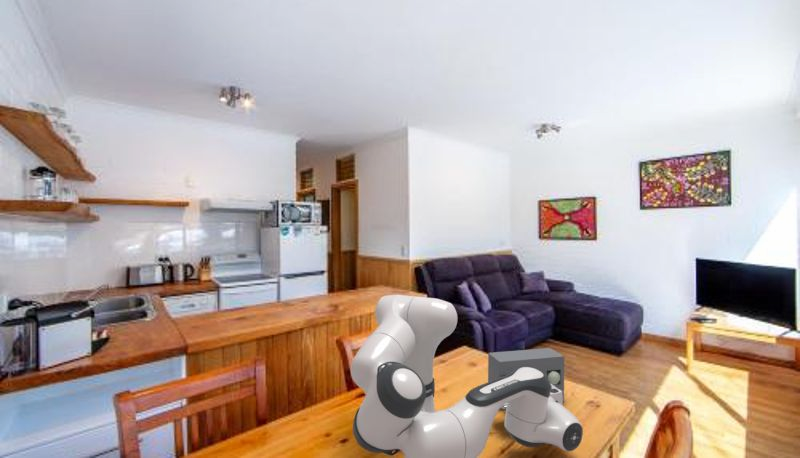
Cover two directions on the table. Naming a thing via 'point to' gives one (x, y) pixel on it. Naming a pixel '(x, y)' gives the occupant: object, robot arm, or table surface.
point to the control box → (526, 363)
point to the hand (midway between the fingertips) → (511, 382)
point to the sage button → (553, 377)
